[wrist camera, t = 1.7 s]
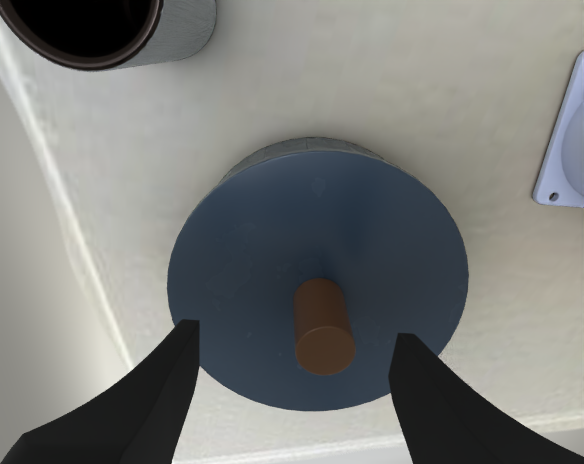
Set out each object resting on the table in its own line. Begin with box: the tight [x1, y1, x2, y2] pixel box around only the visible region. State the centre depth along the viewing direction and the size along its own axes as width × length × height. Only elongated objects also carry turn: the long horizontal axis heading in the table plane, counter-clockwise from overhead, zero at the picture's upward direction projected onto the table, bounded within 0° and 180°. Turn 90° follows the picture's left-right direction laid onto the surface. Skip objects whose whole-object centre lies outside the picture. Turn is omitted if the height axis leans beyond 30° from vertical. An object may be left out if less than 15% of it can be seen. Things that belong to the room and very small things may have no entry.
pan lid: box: [167, 149, 469, 411], centre depth 19 cm, size 14×14×5 cm
